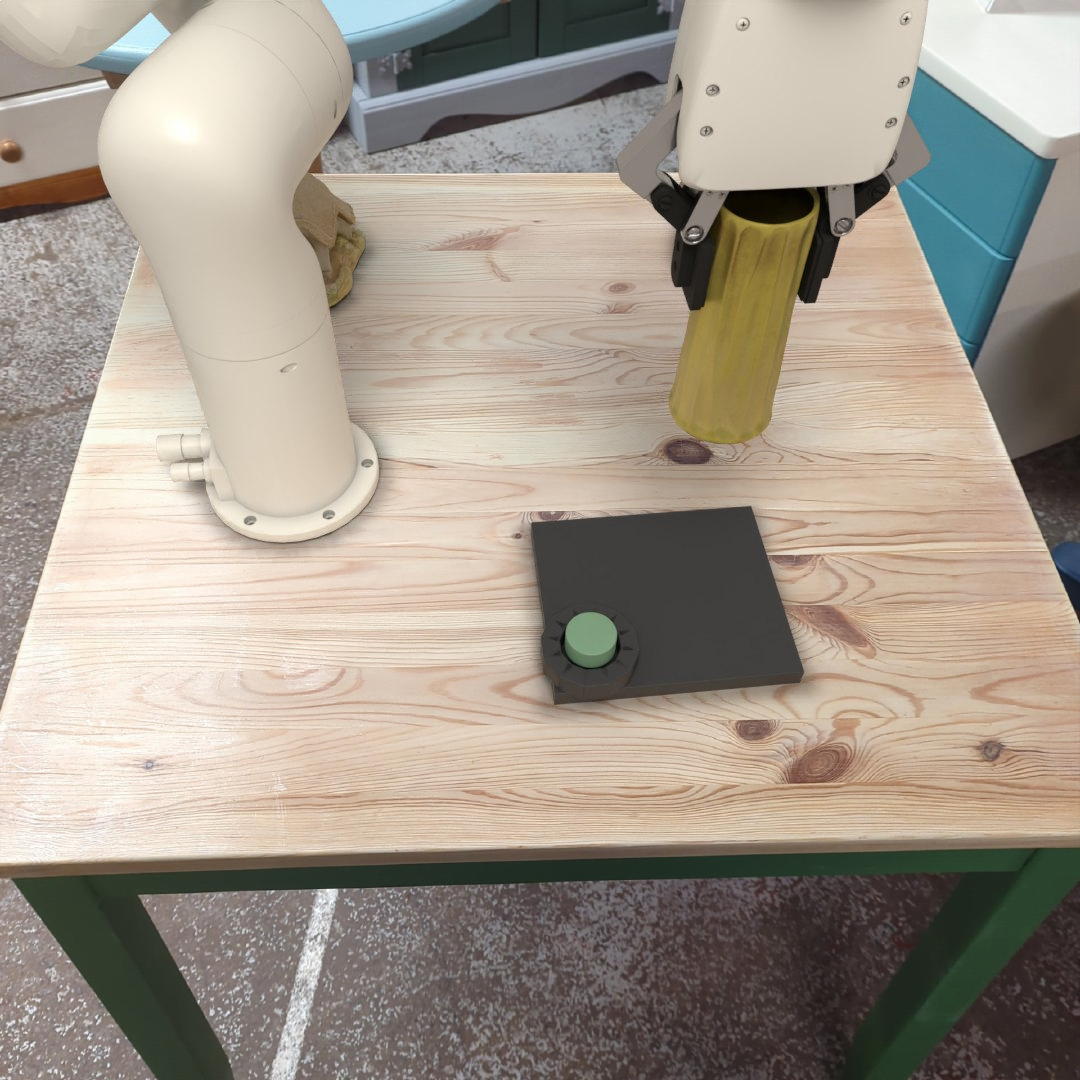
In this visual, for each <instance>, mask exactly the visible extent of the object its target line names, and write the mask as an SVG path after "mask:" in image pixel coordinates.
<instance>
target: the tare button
mask: <svg viewBox="0 0 1080 1080" xmlns="http://www.w3.org/2000/svg"><path fill="white" fill-rule="evenodd" d="M616 642H617V630H616V627H615V625H614V624H613V622H612V621H611V620H610V619H609V618H607V617H606V616H604V615H602V614H599V613H595V612H586V613H581V614H579V615H577V616H575V617H574V618H573V619H572V620H571V621H570V622H569V623H568V625H567V627H566V634H565V650H566V653H567V655H568V657H569V658H570V659H571V660H572V661H573V662H574V663H576V664H578V665H580V666H583V667H587V668H595V667H599V666H602V665H604V664H606V663H607V662H609V661H610V660H611V658H612V657H613V655H614V653H615V649H616Z"/></svg>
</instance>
